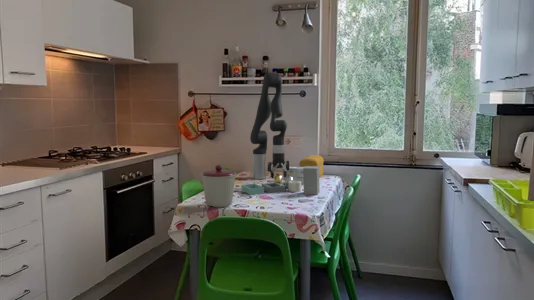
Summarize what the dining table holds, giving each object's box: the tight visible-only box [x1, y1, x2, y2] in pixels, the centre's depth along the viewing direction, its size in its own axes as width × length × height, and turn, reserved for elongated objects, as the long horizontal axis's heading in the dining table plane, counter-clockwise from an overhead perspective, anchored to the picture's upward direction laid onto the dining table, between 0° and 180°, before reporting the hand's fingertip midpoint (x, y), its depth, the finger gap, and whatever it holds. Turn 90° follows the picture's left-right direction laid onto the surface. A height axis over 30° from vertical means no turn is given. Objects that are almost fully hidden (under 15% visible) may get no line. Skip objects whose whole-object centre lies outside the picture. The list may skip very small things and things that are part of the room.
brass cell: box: [273, 174, 283, 184], centre depth 268 cm, size 5×5×8 cm
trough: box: [241, 183, 265, 196], centre depth 251 cm, size 13×9×4 cm, turn 25°
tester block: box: [261, 182, 286, 194], centre depth 256 cm, size 12×10×4 cm
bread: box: [298, 154, 325, 179], centre depth 302 cm, size 24×13×15 cm, turn 162°
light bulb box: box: [288, 166, 304, 185], centre depth 278 cm, size 11×7×11 cm, turn 84°
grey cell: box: [284, 175, 293, 190], centre depth 263 cm, size 5×5×8 cm
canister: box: [200, 164, 237, 208], centre depth 219 cm, size 18×18×21 cm
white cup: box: [287, 181, 302, 193], centre depth 256 cm, size 7×8×5 cm
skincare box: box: [303, 166, 320, 195], centre depth 248 cm, size 8×7×16 cm
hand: (278, 177), depth 267 cm, fingers open, 8 cm apart
